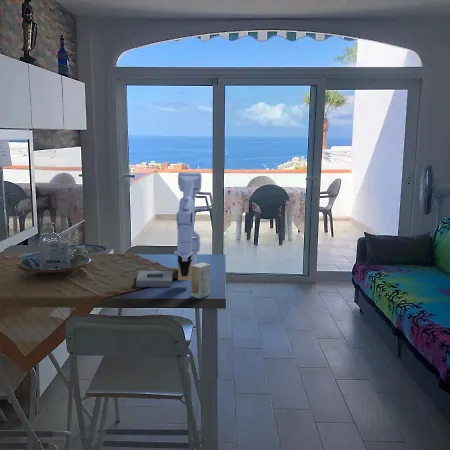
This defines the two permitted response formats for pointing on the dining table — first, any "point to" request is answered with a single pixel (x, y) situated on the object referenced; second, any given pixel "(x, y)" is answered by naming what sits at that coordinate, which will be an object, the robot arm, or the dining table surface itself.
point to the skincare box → (200, 280)
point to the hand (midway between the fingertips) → (184, 274)
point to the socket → (154, 279)
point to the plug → (184, 276)
